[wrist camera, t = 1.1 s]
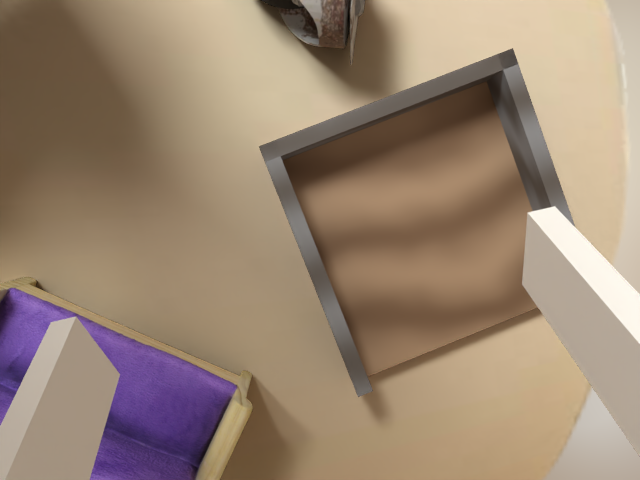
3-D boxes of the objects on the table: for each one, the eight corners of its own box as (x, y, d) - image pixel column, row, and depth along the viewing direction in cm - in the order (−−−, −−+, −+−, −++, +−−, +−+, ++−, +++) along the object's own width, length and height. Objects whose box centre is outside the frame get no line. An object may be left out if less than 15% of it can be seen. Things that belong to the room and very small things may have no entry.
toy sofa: (261, 374, 39) (250, 431, 29) (218, 466, 39) (191, 555, 29) (24, 269, 38) (-76, 289, 27) (-20, 365, 38) (-135, 421, 28)
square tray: (262, 154, 38) (258, 146, 34) (489, 66, 39) (512, 48, 34) (351, 377, 39) (358, 396, 35) (567, 289, 40) (599, 298, 36)
